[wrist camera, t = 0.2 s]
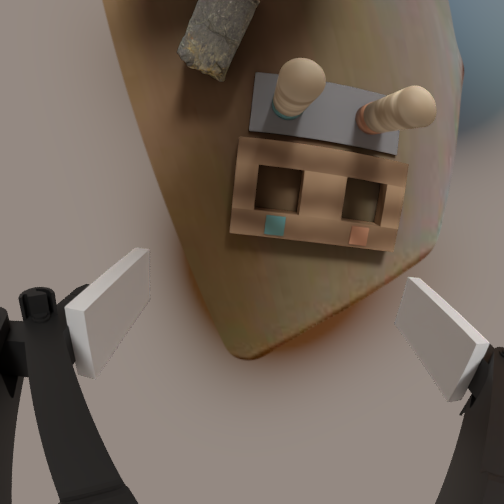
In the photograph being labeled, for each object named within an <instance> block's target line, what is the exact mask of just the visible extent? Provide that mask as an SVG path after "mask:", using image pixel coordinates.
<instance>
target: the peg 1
mask: <svg viewBox="0 0 504 504" xmlns="http://www.w3.org/2000/svg"><path fill="white" fill-rule="evenodd" d="M325 85H326V77H325V74H324V72H323V70H322V68H321V67H320V66H319V65H318V64H317V63H315V62H314V61H312V60H309V59H306V58H295V59H292V60H290V61H288V62H286V63H285V64H284V65H283V66H282V68H281V70H280V72H279V76H278V80H277V84H276V89H275V93H274V95H273V99H272V109H273V111H274V113H275V114H276V115H277V116H278V117H279V118H281V119H284V120H293V119H296V118H297V117H299V116H300V115H301V114H302V113H303V112H304V111H305V109H306V108H307V107H308V106H309V105H310V104H311V103H312V102H313V101H314V100H315V99H316V98H317V97H318V96H319V95H320V94H321V93H322V92H323V90H324V88H325Z"/></svg>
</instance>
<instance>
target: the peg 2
mask: <svg viewBox="0 0 504 504" xmlns="http://www.w3.org/2000/svg"><path fill="white" fill-rule="evenodd" d="M435 117H436V104H435V101H434V99H433V97H432V96H431V94H430V93H429V92H428V91H427V90H425V89H424V88H422V87H420V86H410V87H407V88H405V89H402V90H400V91H397V92H395V93H393V94H390V95H388V96H386V97H383V98H381V99H379V100H376V101H374V102H371V103H368V104H366V105H364V106H362V107H360V108H359V109H358V111H357V113H356V118H355V119H356V124H357V126H358V127H359V129H360V130H361V131H362V132H364V133H366V134H370V135H373V134H380V133H385V132H391V131H397V130H405V129H412V128H420V127H426V126H429V125H430V124H431V123H432V122H433V121H434V119H435Z"/></svg>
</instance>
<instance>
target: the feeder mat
mask: <svg viewBox="0 0 504 504" xmlns="http://www.w3.org/2000/svg"><path fill="white" fill-rule="evenodd" d="M278 76H279V75H278V74H270V73H261V72H256V75H255V83H254V91H253V100H252V109H251V117H250V126H249V131H256V132H265V133H273V134H281V135H289V136H296V137H303V138H310V139H316V140H322V141H328V142H334V143H340V144H345V145H351V146H356V147H361V148H366V149H371V150H375V151H380V152H384V153H389V154H393V155H397V149H398V140H399V130H397V131H391V132H385V133H380V134H373V135H370V134H366V133H364V132H362V131H361V130H360V129H359V127H358V126H357V124H356V119H355V118H356V113H357V111H358V109H359V108H360V107H362V106H364V105H366V104H368V103H371V102H374V101H376V100H379V99H381V98H383V97H386V95H382V94H379V93H375V92H371V91H367V90H362V89H358V88H354V87H349V86H344V85H340V84H335V83H329V82H326V85H325V88H324V90H323V92H322V93H321V94H320V95H319V96H318V97H317V98H316V99H315V100H314V101H313V102H312V103H311V104H310V105H309V106H308V107H307V108H306V109H305V111H304V112H303V113H302V114H301V115H300V116H299V117H297V118H296V119H293V120H284V119H281V118H279V117H278V116H277V115H276V114H275V113H274V111H273V109H272V99H273V95H274V93H275V89H276V84H277V80H278Z"/></svg>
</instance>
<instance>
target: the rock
mask: <svg viewBox="0 0 504 504" xmlns="http://www.w3.org/2000/svg"><path fill="white" fill-rule="evenodd" d="M259 2H260V1H259V0H198V2H197V4H196V7H195V10H194V12H193V15H192V17H191V19H190V21H189V24H188V27H187V30H186V33H185V36H184V37H183V38H182V41H181V43H180V45H179V48H178V50H177V54H179V55H180V58H181V59H182V60H183V61H185V62H186V65H187V66H188V67H189V68H192V69H197V70H199V71H201V72H202V73H203V74H207V75H210V76H211V77H212V78H214V79H217V80H218V81H220V82H222V81H225V76H226V73H227V70H228V68H229V66H230V63H231V61H232V59H233V57H234V55H235V52H236V50H237V48H238V46H239V44H240V42H241V40H242V38H243V36H244V34H245V31H246V29H247V27H248V25H249V23H250V21H251V19H252V17H253V15H254V11H255V9H256V7H257V6H258V4H259Z"/></svg>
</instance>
